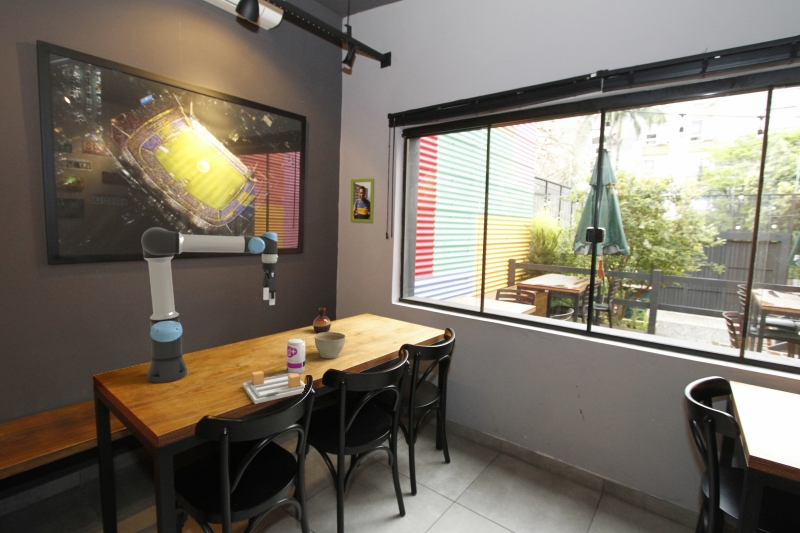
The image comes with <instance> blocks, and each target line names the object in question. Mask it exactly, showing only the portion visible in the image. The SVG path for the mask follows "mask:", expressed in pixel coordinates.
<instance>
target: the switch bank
mask: <svg viewBox="0 0 800 533" xmlns="http://www.w3.org/2000/svg"><path fill="white" fill-rule="evenodd" d="M291 374H292V373H288V372H287V373H283V372H281V373H275V374H273V375H272V376H267V377H264V384H259V385H254V386H253V385H252V380H248V381H246V382H244V383H242V388H243V389H244V390H245V392H246V394H248V396H249V398H250V399H251V401H252V402H253V404H255V405H256V404H260V403H265V402H270V401H274V400H278V399H282V398H287V397H292V396H295V395H300V394H303V393H302V392H303V391H304V388H305V385H306V383H304V382H303V380H301V379H300V387H295V388H289V387H288V375H291ZM293 374H294V373H293Z"/></svg>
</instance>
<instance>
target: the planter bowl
mask: <svg viewBox="0 0 800 533" xmlns="http://www.w3.org/2000/svg"><path fill="white" fill-rule="evenodd" d="M345 341H346V334H344V333H341V332H335V331H328V332H323V333H316V334H315V335H314V344H315V348H316V350H317V352H318V353H319V354H320V355H319V356H320V357H321V358H323V359H335V358H338V357H339V354H340V353H341V352H342V350H343V348H344V346H345Z"/></svg>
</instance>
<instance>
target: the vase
mask: <svg viewBox="0 0 800 533" xmlns="http://www.w3.org/2000/svg"><path fill="white" fill-rule="evenodd" d="M326 310H327V309H326V307H319V308H318V313H319V315H318V316H317V317H316V318H315V319H314V320H313V323H312V326H313V331H314V332H315V333H316V334H319V333H323V332H330V329H331V326H332V324H331V320H330V318H329V317H328V316H326Z"/></svg>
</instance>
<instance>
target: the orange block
mask: <svg viewBox="0 0 800 533" xmlns="http://www.w3.org/2000/svg"><path fill="white" fill-rule="evenodd" d="M264 378H265V373H264V372H263V370H258V371H252V372H251V381H252V385H253V386H254V385H259V384H264Z"/></svg>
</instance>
